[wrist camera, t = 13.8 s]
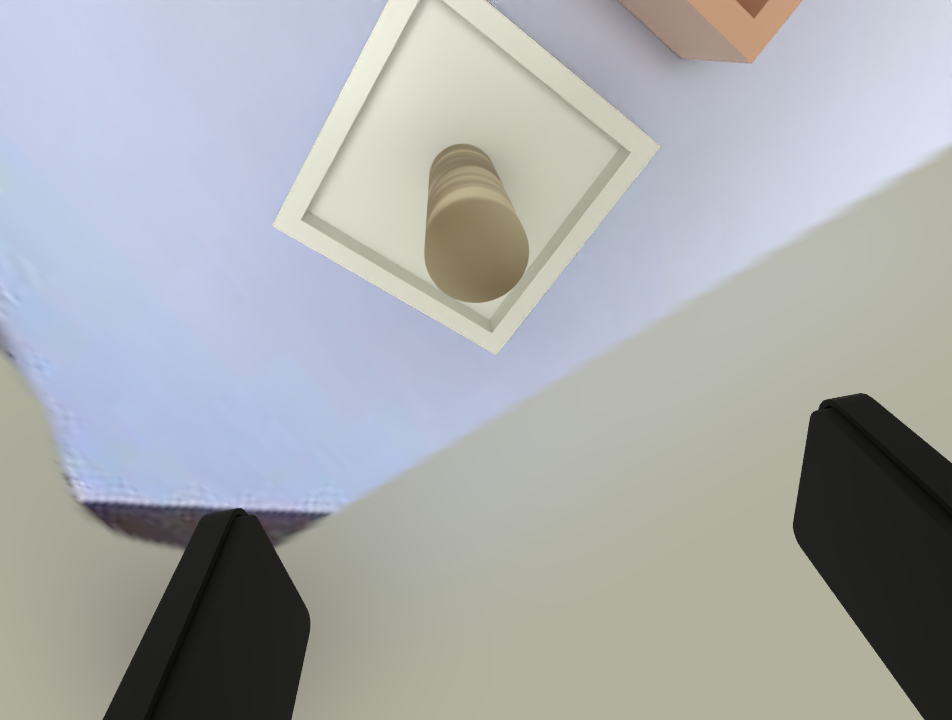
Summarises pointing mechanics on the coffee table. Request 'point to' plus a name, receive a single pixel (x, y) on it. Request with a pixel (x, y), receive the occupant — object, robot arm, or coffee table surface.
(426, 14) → the cream tray
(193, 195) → the coffee table surface
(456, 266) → the birch dowel
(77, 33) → the coffee table surface
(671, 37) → the terracotta cup
